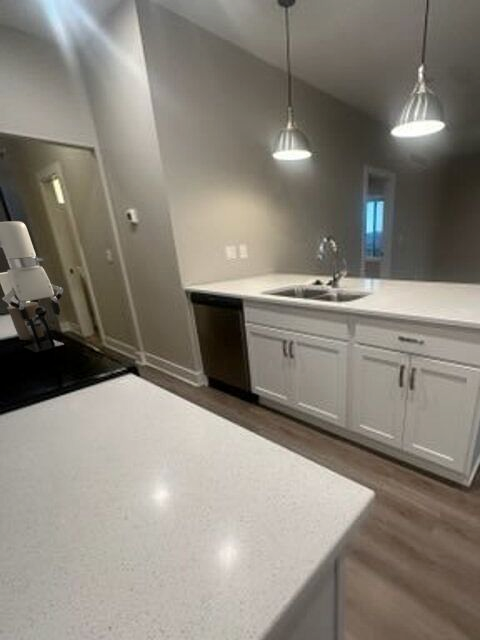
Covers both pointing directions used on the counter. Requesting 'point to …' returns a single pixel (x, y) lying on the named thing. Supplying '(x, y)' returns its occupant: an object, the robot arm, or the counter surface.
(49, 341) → the bracket
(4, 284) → the cylindrical container
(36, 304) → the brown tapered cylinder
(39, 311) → the lever
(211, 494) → the counter surface
